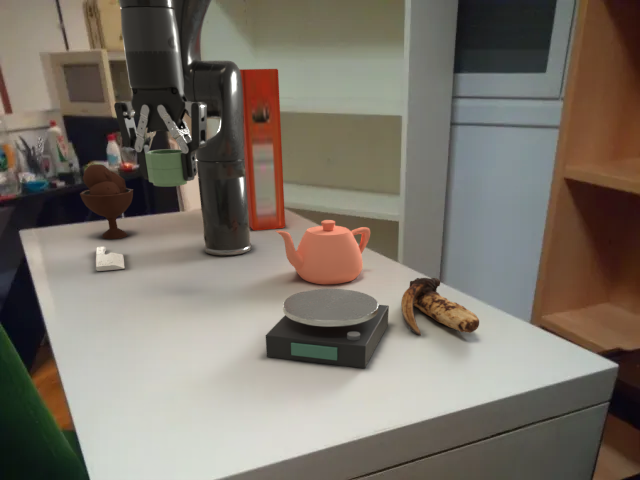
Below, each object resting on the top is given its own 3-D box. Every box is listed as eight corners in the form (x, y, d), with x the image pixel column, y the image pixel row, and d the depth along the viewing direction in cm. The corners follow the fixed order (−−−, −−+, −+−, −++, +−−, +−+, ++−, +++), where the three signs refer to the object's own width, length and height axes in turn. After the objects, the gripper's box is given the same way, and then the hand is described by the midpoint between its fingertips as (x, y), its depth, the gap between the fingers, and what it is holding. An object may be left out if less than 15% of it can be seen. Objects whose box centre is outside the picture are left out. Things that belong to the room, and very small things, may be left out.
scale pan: (300, 290, 85) (300, 285, 85) (386, 298, 82) (386, 292, 82) (269, 321, 75) (269, 315, 75) (366, 331, 72) (366, 325, 72)
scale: (302, 316, 89) (301, 293, 87) (387, 325, 85) (389, 301, 84) (265, 357, 76) (264, 331, 74) (364, 369, 73) (365, 342, 71)
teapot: (384, 278, 105) (387, 222, 100) (290, 293, 98) (288, 234, 93) (352, 261, 114) (353, 210, 109) (265, 273, 108) (262, 219, 103)
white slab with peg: (122, 249, 123) (121, 244, 122) (124, 269, 111) (123, 263, 110) (97, 251, 122) (96, 245, 121) (96, 271, 109) (94, 265, 109)
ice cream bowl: (126, 242, 128) (113, 167, 120) (79, 240, 130) (63, 166, 122) (148, 231, 137) (137, 160, 129) (104, 229, 139) (90, 160, 131)
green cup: (162, 180, 94) (158, 148, 92) (197, 181, 92) (193, 149, 90) (141, 186, 89) (136, 153, 87) (178, 187, 87) (174, 154, 85)
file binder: (251, 230, 137) (241, 68, 120) (237, 215, 151) (226, 69, 134) (285, 228, 139) (279, 68, 122) (268, 213, 153) (261, 69, 137)
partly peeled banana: (375, 307, 93) (431, 348, 78) (375, 278, 91) (433, 314, 76) (428, 298, 95) (492, 336, 81) (430, 269, 93) (496, 303, 78)
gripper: (212, 49, 83) (223, 177, 91) (122, 50, 87) (141, 174, 95) (186, 47, 77) (200, 185, 85) (91, 49, 80) (114, 181, 89)
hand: (169, 179), depth 90 cm, fingers closed on green cup, 6 cm apart
